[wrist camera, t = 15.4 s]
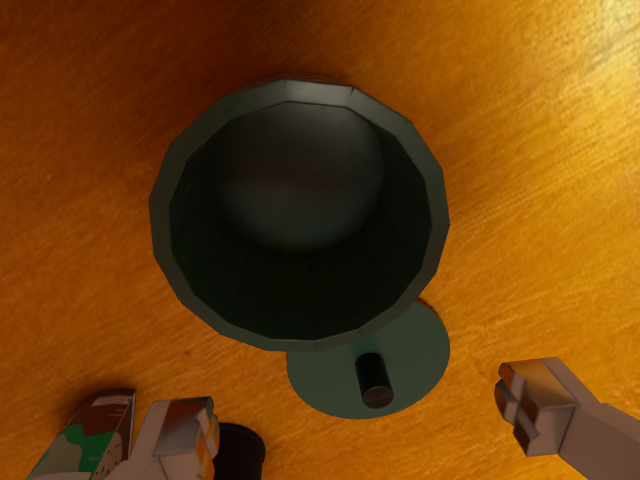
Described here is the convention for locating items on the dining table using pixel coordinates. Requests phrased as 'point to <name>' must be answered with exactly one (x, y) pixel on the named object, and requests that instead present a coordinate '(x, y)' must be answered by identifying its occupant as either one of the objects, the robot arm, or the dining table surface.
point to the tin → (298, 214)
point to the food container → (91, 439)
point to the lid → (375, 368)
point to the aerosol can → (238, 454)
